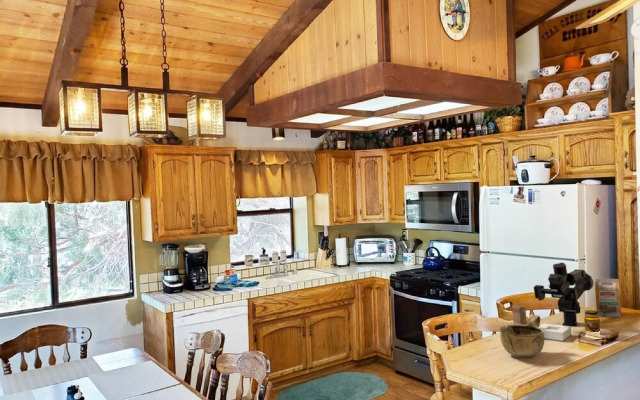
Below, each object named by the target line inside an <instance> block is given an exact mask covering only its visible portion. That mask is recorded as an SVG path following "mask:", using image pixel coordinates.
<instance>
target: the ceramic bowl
mask: <svg viewBox="0 0 640 400" xmlns="http://www.w3.org/2000/svg"><path fill="white" fill-rule="evenodd" d="M540 323H541V317H540V315H537V314H530V315H529V317H528V320H527V324H526V325H514V324H507V323H501V324H500V327H499V330H500V336H499V337H500V341H501V342H500V343H501V345H502V347H503V348H504V350H505V351H506V352H507V353H508V354H510V355H512V356H514V357H517V358H521V359H528V358H533V357H535V356H537V355H538V354H540V352H542V350H543V348H544V345H545V339H544V333H543V330H542V329H541V328H539V326H541V324H540Z"/></svg>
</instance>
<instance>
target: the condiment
mask: <svg viewBox="0 0 640 400" xmlns="http://www.w3.org/2000/svg"><path fill="white" fill-rule="evenodd" d="M583 319H584V331H585V330H586V331H590V332H599V331H600V332H601V321H600V317H598V312H597V310H592V309H591V310H590V309H588V310H585V311H584V317H583Z"/></svg>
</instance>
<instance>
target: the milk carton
mask: <svg viewBox="0 0 640 400" xmlns="http://www.w3.org/2000/svg"><path fill="white" fill-rule="evenodd" d="M594 281H595V286H594V287H595V288H594V289H595V290H594V291H595V306H596V307H595V309H596V310H595V311H597V312H598V317H599V318H605V317H606V318H608V319H622V302H621V289H620V280H619V279H618V278H595V280H594Z"/></svg>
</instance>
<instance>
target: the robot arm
mask: <svg viewBox="0 0 640 400" xmlns="http://www.w3.org/2000/svg"><path fill="white" fill-rule="evenodd" d="M552 268H553V273H550V274H549V276H548V278H547V280H548V282H549V285H548V288H545V286H544V285H540V284H535V285H534V286H533V292H534V298H535V299H537V300H538V301H543V300H544V299H546V295H551V298H553V299H555V298H556V299H558V300H557V308H558V312H559V313H563V315H562V316H563V323H562V324H561V326H570V327H577V326H578V325H579V322H578V320H577V314H581V306H580V304H579V302H578V301H579V299H580V298H581V296H582V295H583V294H584V293H585V292H587V291H590V290H592V288H593V287H594V280H593V278H592V276H591V275H589V274H588V273H587V272H586V270H584V269H574V270H573V271H570V272H568V270H567V264H566V263H565V262H559V263H558V262H557V263H555V264H552ZM572 286H574V287H572Z"/></svg>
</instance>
